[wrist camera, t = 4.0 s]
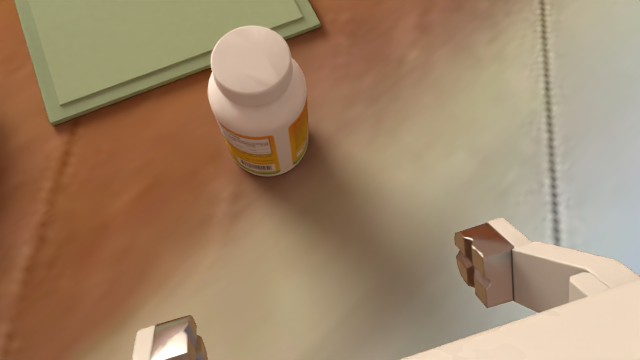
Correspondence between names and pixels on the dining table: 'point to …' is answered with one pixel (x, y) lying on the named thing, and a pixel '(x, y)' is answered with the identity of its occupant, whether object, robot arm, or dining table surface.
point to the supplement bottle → (259, 100)
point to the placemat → (136, 43)
